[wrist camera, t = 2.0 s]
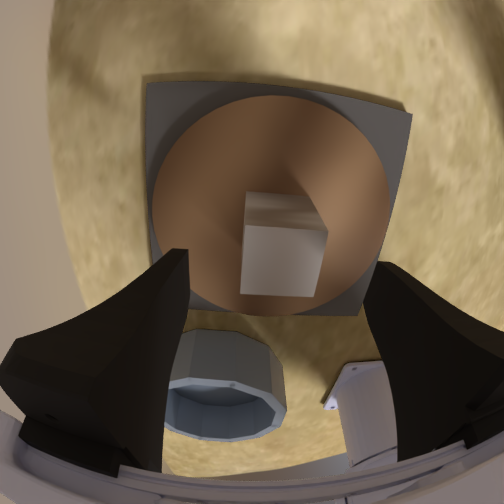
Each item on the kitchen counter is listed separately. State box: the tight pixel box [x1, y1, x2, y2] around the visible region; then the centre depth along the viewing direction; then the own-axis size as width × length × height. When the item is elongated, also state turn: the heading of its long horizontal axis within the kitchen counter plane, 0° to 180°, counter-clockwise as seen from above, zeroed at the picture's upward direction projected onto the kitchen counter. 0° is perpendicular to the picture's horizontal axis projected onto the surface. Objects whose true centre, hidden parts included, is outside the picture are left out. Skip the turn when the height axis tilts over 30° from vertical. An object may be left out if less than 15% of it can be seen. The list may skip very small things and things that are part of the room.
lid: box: [152, 95, 390, 316], centre depth 14 cm, size 13×13×5 cm
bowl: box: [164, 329, 287, 442], centre depth 22 cm, size 11×11×4 cm
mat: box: [145, 81, 413, 316], centre depth 16 cm, size 14×14×1 cm
